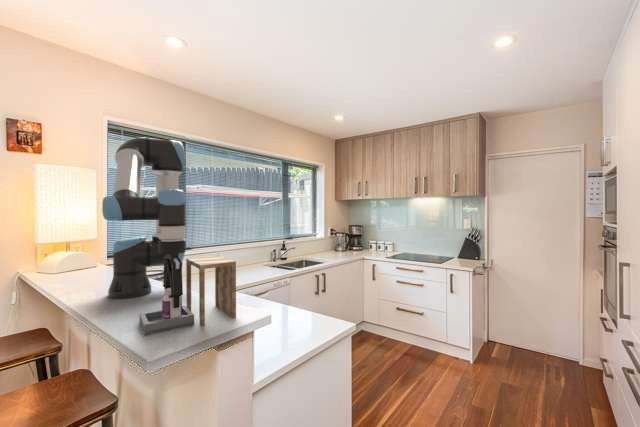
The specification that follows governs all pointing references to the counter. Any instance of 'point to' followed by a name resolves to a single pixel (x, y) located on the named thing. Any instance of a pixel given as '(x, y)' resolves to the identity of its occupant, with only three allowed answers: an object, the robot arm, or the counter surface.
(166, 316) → the pill bottle
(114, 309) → the counter surface
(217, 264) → the counter shelf
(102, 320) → the counter surface
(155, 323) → the tray
